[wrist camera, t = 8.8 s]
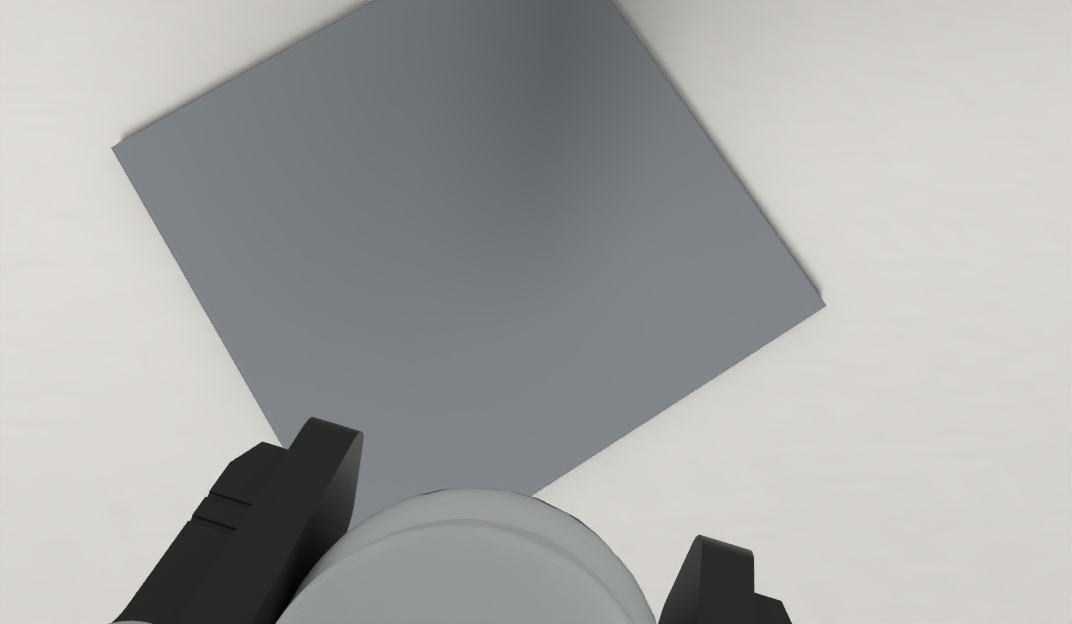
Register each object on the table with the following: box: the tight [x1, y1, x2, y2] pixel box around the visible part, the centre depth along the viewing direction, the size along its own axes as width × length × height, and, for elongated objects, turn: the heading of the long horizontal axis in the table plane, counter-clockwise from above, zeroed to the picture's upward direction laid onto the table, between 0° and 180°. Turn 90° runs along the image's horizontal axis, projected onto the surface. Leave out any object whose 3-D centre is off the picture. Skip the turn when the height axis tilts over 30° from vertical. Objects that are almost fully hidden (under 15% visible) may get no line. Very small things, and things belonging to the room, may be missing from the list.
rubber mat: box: [111, 0, 826, 532], centre depth 32 cm, size 18×18×1 cm
